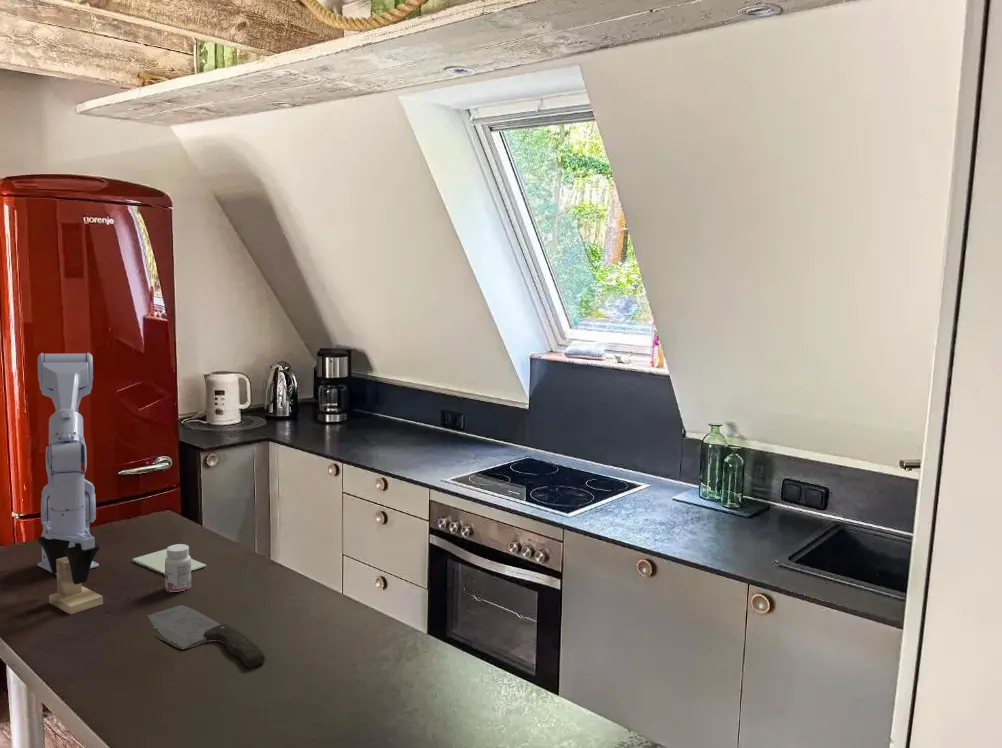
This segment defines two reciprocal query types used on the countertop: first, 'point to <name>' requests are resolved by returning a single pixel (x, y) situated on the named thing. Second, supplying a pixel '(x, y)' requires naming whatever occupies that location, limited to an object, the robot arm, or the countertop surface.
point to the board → (161, 561)
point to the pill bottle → (177, 568)
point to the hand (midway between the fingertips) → (69, 577)
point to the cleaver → (204, 633)
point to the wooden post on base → (72, 591)
